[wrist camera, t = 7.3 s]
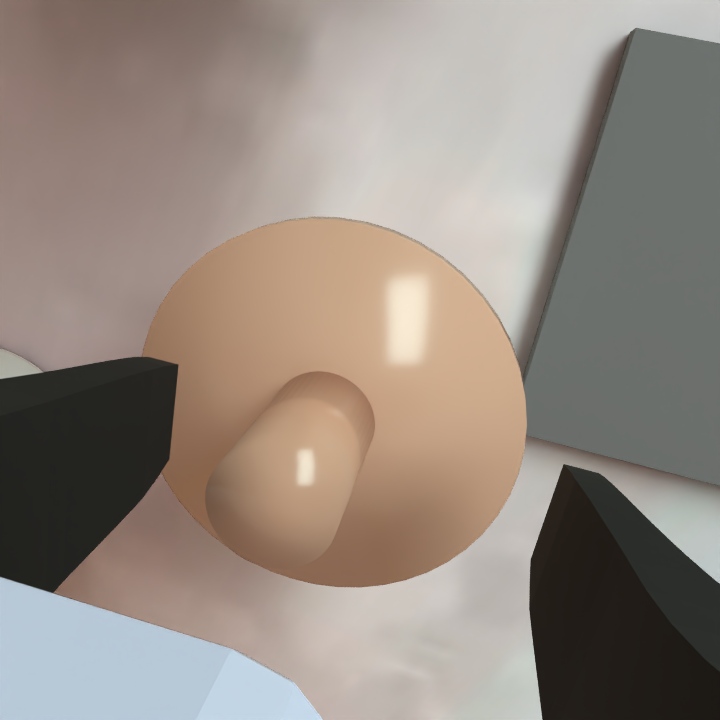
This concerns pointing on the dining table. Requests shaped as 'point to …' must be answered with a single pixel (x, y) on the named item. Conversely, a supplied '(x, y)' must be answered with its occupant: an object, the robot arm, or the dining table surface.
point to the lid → (339, 402)
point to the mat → (641, 275)
